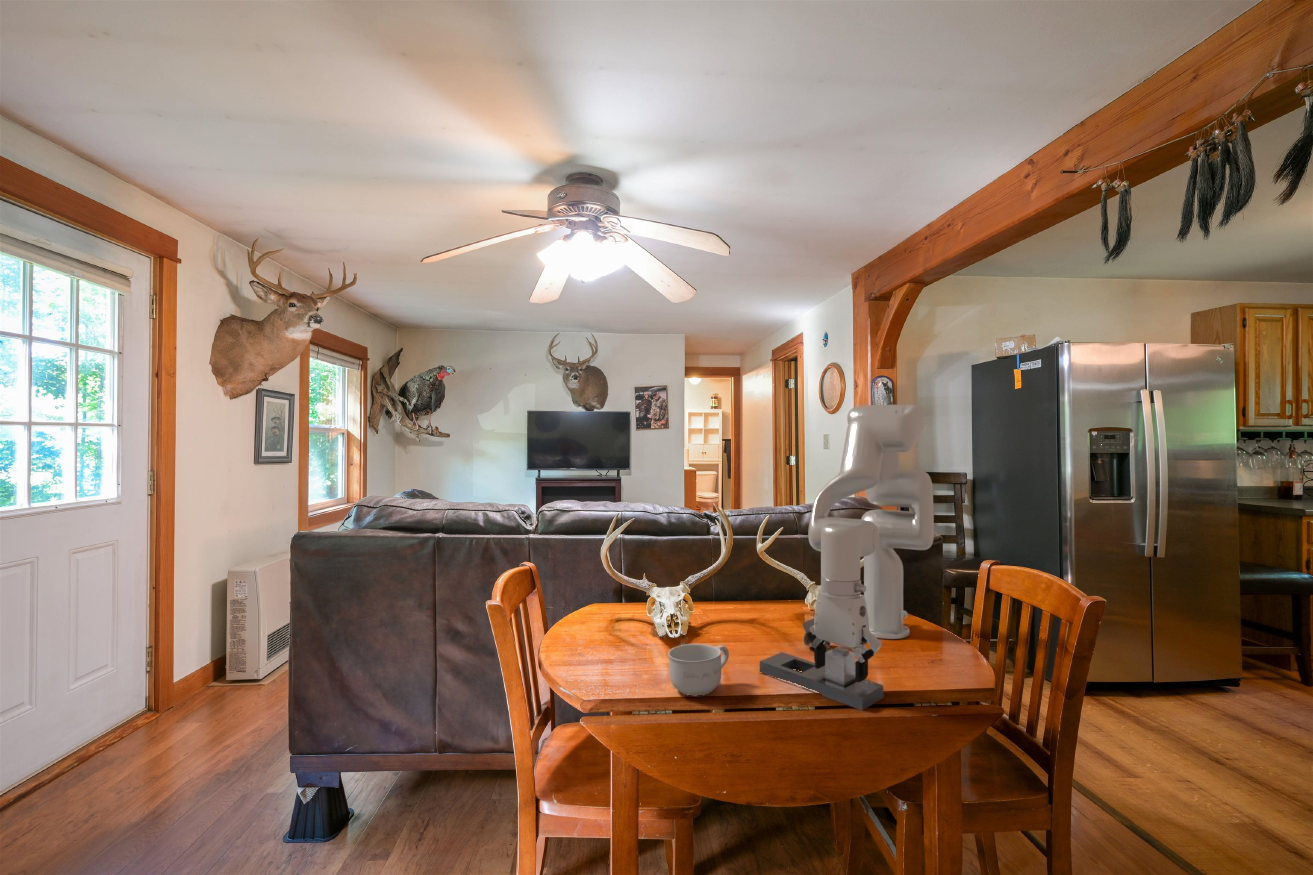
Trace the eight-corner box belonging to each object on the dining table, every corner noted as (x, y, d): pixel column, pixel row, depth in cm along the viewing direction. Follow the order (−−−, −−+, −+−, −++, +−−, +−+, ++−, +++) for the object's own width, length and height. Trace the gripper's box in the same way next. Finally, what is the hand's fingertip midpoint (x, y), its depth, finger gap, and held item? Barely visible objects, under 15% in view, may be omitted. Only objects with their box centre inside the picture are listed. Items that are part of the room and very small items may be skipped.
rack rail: (759, 672, 131) (759, 661, 131) (781, 663, 136) (781, 651, 136) (862, 710, 113) (862, 697, 113) (883, 697, 119) (883, 684, 119)
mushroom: (840, 644, 139) (830, 618, 142) (807, 655, 140) (797, 629, 144) (844, 650, 145) (834, 625, 149) (812, 661, 147) (803, 635, 150)
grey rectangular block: (836, 685, 124) (836, 644, 124) (855, 692, 121) (855, 649, 121) (825, 691, 121) (825, 649, 121) (844, 698, 118) (844, 654, 118)
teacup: (682, 706, 115) (682, 664, 115) (659, 684, 125) (659, 645, 125) (745, 693, 121) (745, 653, 121) (718, 673, 131) (718, 636, 131)
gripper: (891, 591, 117) (891, 681, 117) (813, 575, 130) (813, 656, 130) (871, 598, 112) (871, 692, 112) (792, 581, 125) (792, 665, 125)
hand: (840, 672), depth 121 cm, fingers open, 8 cm apart
